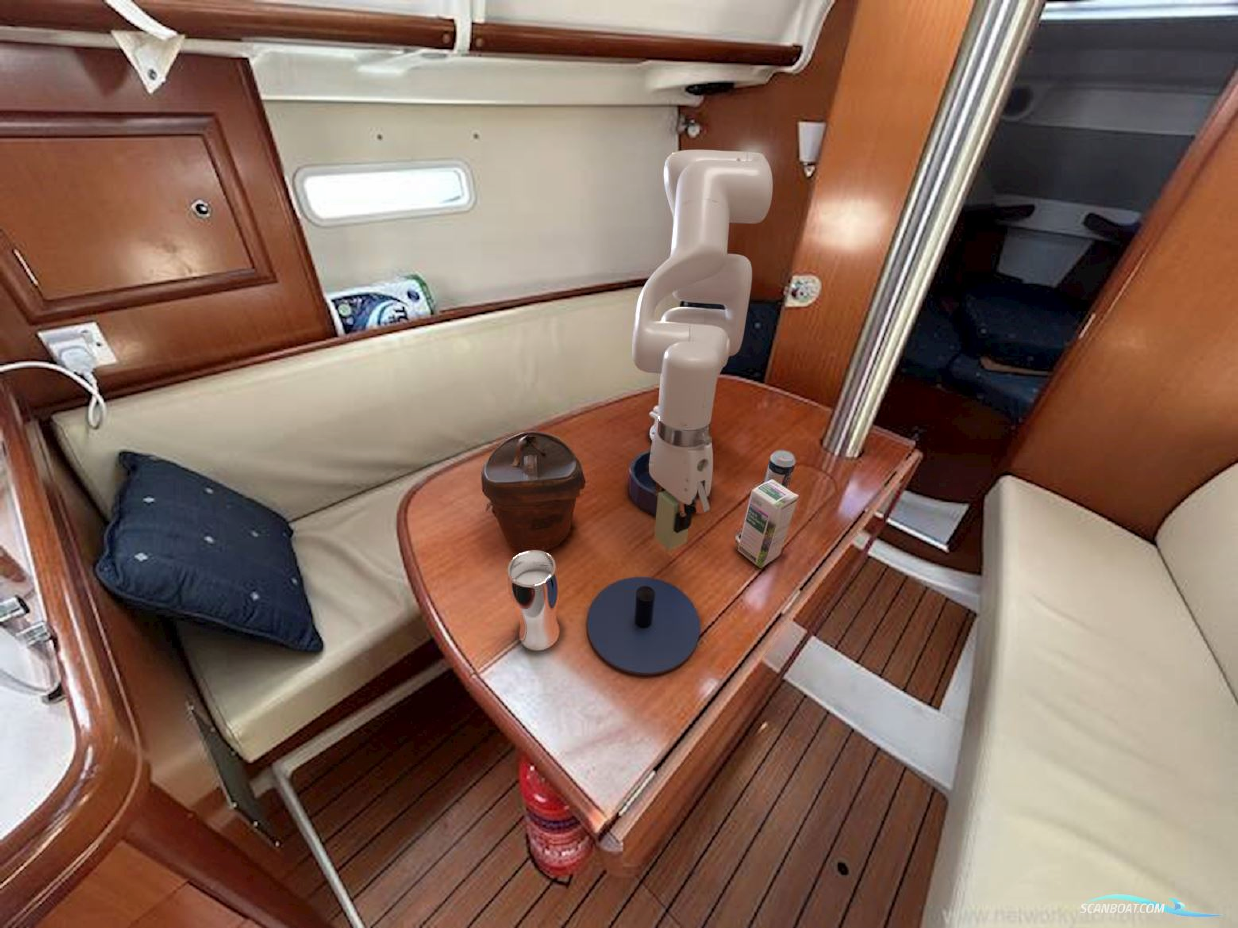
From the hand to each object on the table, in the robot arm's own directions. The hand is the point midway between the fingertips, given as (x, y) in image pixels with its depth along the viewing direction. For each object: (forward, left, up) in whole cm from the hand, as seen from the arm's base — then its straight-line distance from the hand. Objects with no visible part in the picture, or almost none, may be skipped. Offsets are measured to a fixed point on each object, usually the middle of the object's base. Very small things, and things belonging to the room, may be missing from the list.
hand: (672, 520), depth 84 cm
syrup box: (+8, +15, -10) cm, 20 cm away
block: (0, 0, -5) cm, 5 cm away
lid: (+8, -12, -9) cm, 17 cm away
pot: (-15, +13, -10) cm, 22 cm away
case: (-21, -15, -10) cm, 28 cm away
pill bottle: (0, +28, -10) cm, 30 cm away
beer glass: (0, -26, -10) cm, 28 cm away
